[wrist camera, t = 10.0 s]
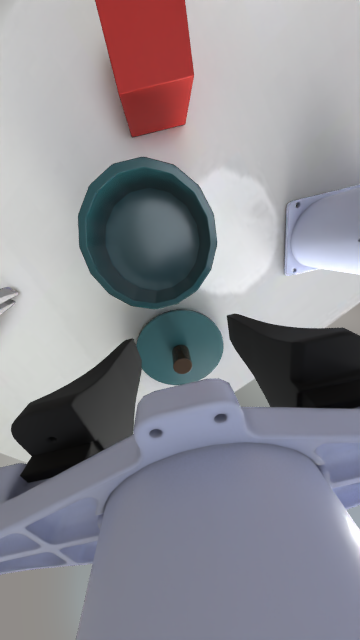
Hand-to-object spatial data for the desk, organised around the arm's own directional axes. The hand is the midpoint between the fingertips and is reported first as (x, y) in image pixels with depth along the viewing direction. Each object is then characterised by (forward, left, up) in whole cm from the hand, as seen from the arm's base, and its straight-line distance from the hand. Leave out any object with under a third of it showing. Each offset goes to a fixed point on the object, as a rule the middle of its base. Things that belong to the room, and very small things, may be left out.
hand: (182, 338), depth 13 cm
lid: (+1, +7, -10) cm, 12 cm away
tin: (+1, -7, -10) cm, 12 cm away
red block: (-2, -18, -10) cm, 21 cm away
